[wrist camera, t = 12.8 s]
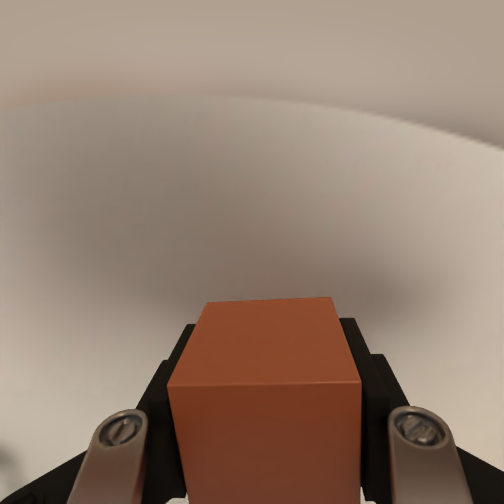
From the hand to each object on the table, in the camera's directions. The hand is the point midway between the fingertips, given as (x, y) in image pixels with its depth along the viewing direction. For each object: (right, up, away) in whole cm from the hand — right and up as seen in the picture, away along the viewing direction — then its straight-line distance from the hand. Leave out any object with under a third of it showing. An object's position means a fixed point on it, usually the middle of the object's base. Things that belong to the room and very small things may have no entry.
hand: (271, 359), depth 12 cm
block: (0, 0, 0) cm, 0 cm away
